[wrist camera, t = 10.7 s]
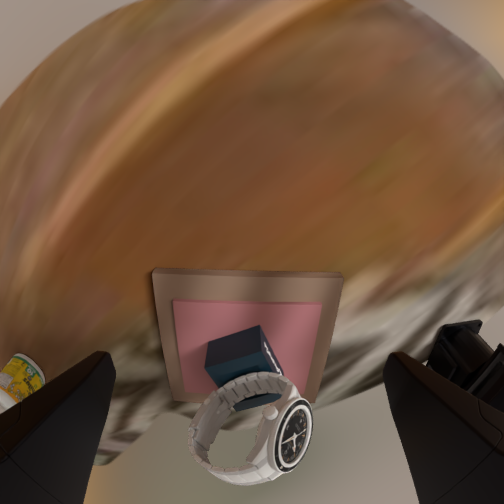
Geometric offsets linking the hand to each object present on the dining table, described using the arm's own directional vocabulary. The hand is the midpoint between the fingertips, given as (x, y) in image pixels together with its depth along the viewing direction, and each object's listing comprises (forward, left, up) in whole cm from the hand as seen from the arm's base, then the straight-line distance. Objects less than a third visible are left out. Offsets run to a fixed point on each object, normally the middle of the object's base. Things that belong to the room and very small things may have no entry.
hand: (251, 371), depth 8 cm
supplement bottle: (+27, +18, -13) cm, 35 cm away
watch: (0, +10, -12) cm, 15 cm away
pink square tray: (0, +10, -13) cm, 16 cm away
